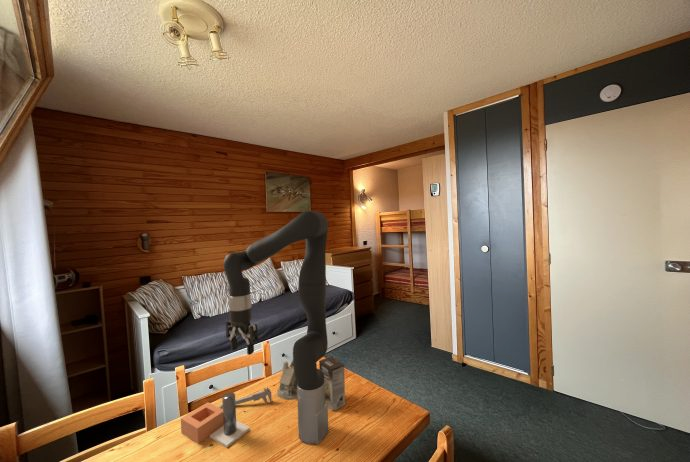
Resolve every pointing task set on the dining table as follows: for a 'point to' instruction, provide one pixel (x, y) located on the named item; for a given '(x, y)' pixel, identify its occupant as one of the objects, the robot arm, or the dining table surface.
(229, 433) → the dark grey bar
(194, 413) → the block
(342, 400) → the coffee box
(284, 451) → the dining table surface
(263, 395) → the caliper
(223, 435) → the mat
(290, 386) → the ceramic cottage
